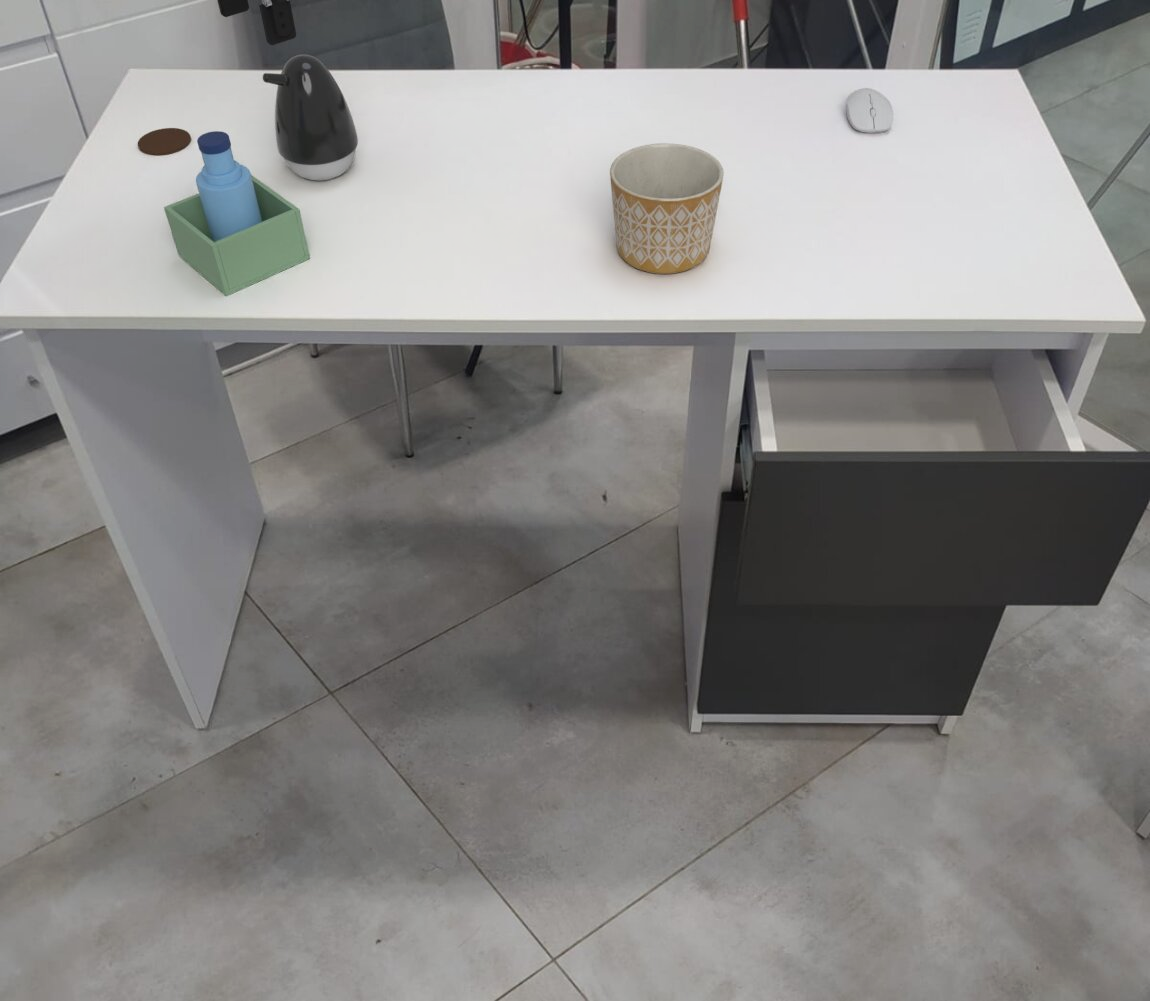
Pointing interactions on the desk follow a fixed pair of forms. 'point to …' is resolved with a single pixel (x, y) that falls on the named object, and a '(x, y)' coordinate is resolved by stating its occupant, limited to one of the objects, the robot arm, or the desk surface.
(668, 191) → the planter
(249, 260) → the bin
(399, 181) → the desk surface
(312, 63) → the pump dispenser
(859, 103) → the computer mouse
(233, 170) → the bottle
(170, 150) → the coaster
